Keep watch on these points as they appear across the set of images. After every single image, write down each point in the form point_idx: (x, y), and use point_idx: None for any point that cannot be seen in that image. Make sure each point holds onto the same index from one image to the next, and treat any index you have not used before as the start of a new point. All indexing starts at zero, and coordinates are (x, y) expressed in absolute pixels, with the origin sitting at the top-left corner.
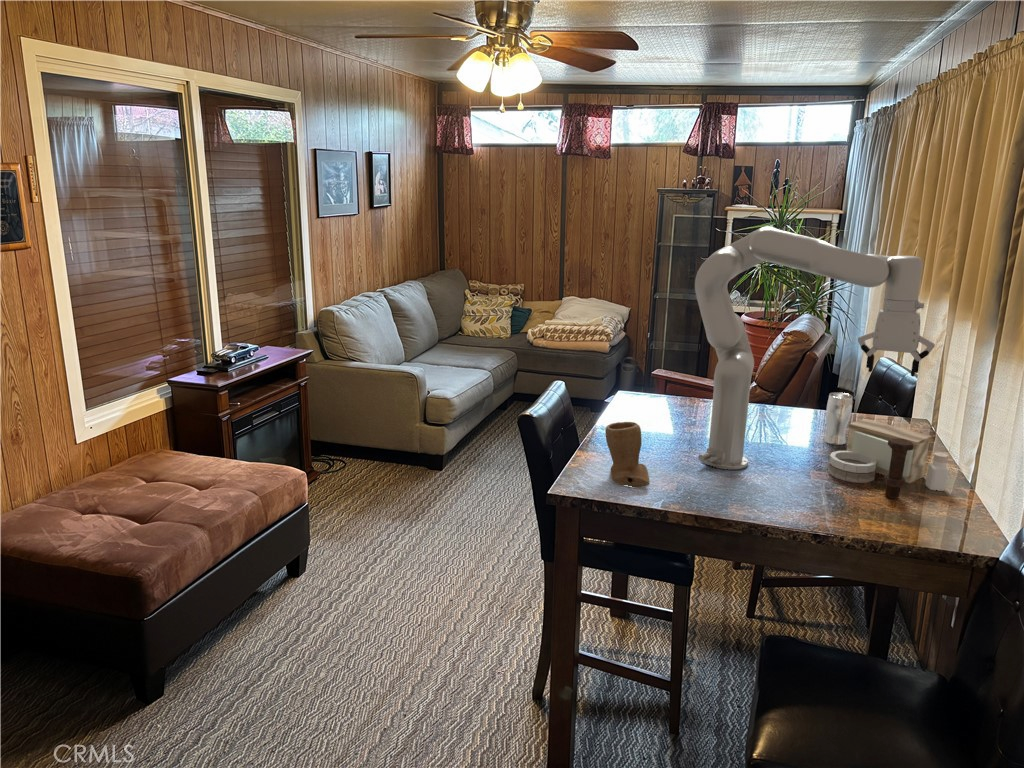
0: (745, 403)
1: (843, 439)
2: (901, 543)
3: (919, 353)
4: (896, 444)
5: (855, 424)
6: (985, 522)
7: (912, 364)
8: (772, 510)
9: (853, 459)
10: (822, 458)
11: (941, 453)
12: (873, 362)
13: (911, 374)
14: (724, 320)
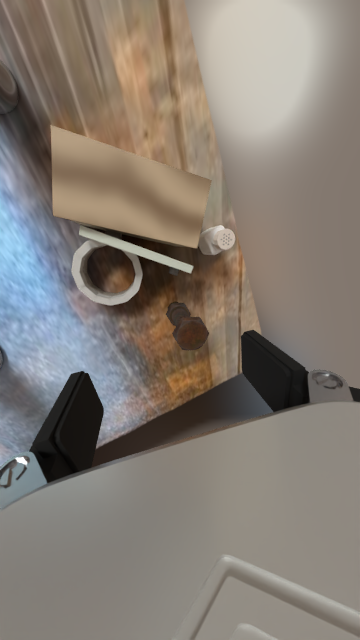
0: None
1: (9, 85)
2: (204, 391)
3: (351, 400)
4: (189, 349)
5: (65, 209)
6: (253, 304)
7: (272, 409)
8: (104, 416)
9: (100, 246)
10: (45, 227)
11: (226, 233)
12: (79, 407)
13: (247, 376)
14: None
